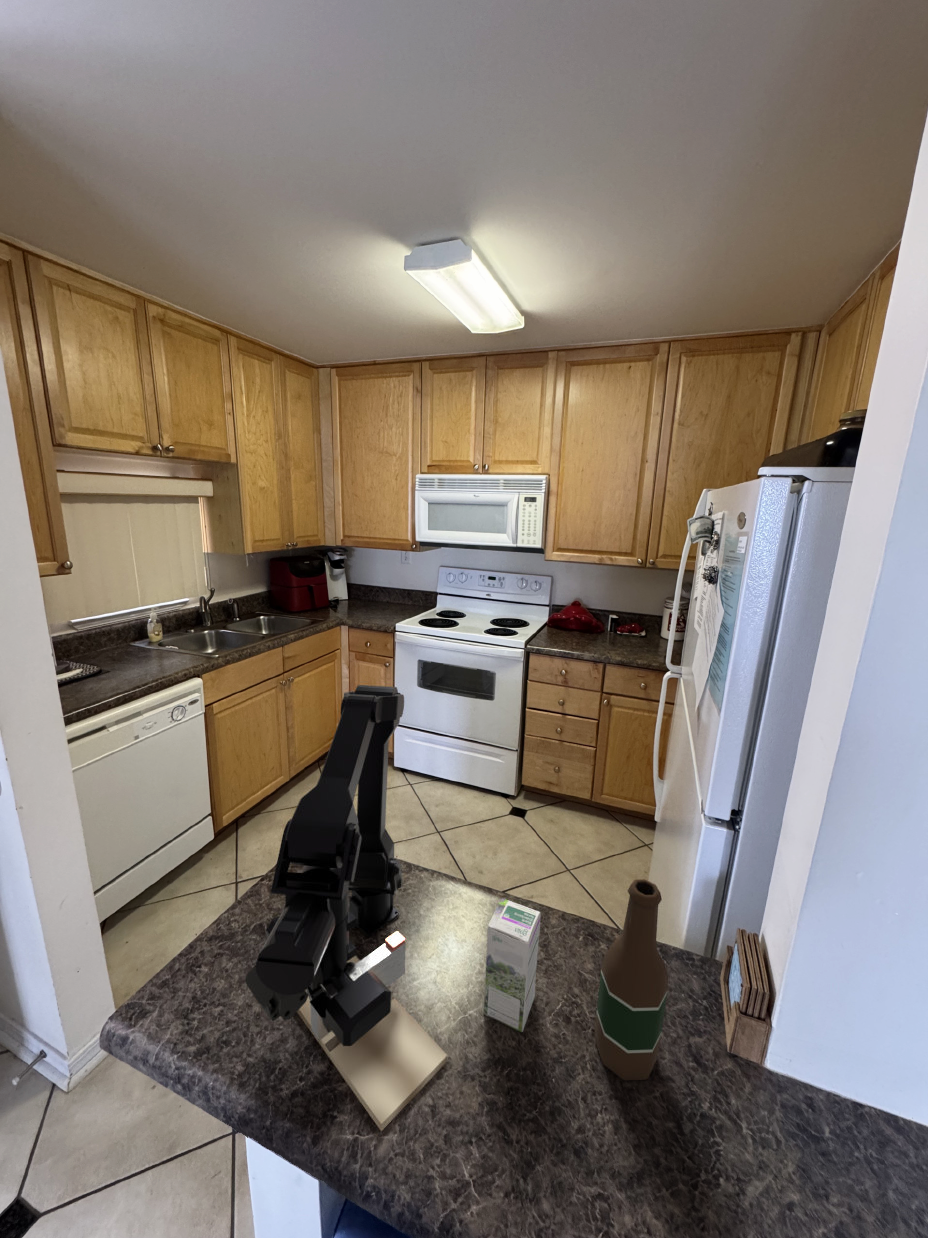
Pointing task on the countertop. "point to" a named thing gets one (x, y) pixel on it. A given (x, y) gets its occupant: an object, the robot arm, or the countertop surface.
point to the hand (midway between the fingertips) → (326, 1022)
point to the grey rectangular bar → (382, 963)
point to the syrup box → (511, 963)
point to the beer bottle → (633, 990)
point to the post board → (384, 1061)
